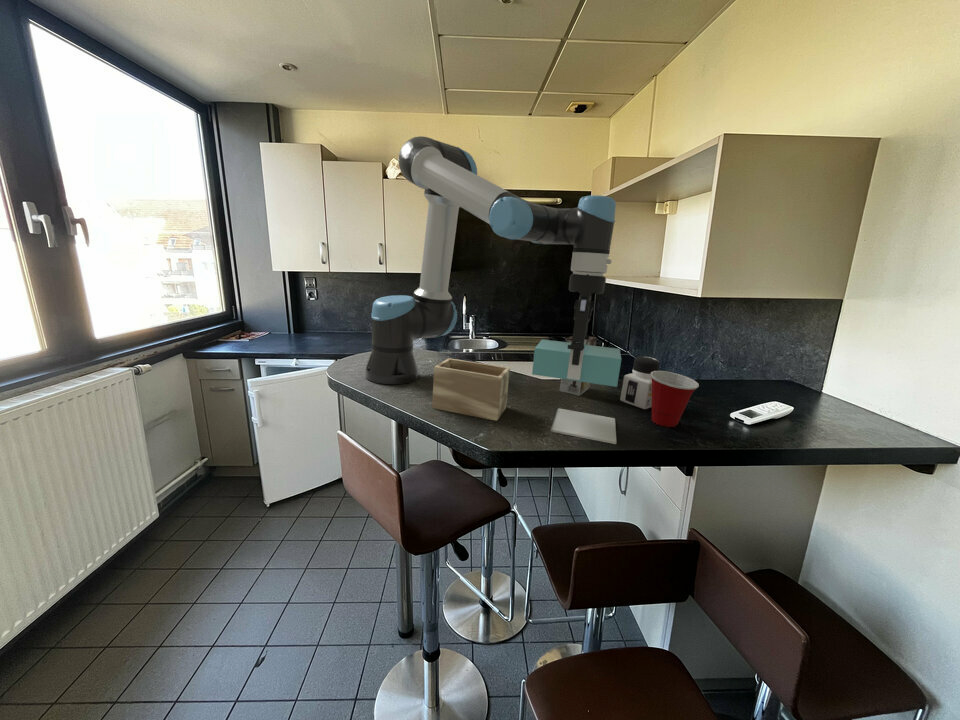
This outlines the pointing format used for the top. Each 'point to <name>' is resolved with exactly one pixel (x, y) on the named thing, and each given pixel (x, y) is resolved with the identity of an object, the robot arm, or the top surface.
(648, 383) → the container
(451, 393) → the box
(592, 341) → the coffee box
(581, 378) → the lid
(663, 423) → the plastic cup
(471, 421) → the top surface
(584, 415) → the mat
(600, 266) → the robot arm
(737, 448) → the top surface
